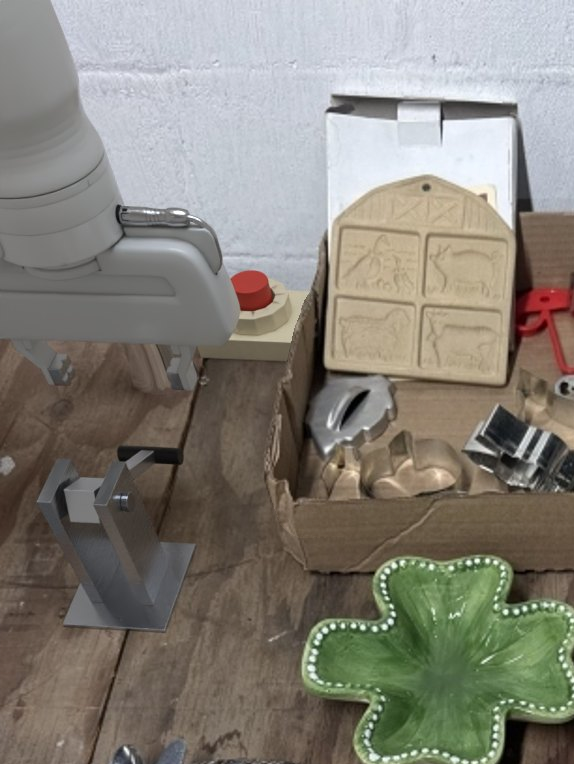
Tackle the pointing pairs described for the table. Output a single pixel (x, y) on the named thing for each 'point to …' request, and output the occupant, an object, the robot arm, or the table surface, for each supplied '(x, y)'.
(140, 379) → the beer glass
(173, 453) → the lever
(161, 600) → the bracket
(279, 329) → the button box
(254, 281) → the button
